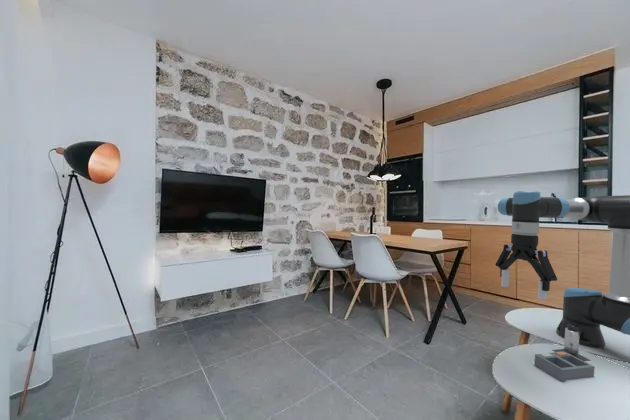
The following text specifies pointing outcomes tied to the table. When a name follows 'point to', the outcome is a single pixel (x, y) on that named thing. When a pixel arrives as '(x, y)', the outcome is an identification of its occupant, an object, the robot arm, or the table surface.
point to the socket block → (564, 366)
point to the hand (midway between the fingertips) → (522, 292)
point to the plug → (572, 340)
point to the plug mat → (578, 355)
